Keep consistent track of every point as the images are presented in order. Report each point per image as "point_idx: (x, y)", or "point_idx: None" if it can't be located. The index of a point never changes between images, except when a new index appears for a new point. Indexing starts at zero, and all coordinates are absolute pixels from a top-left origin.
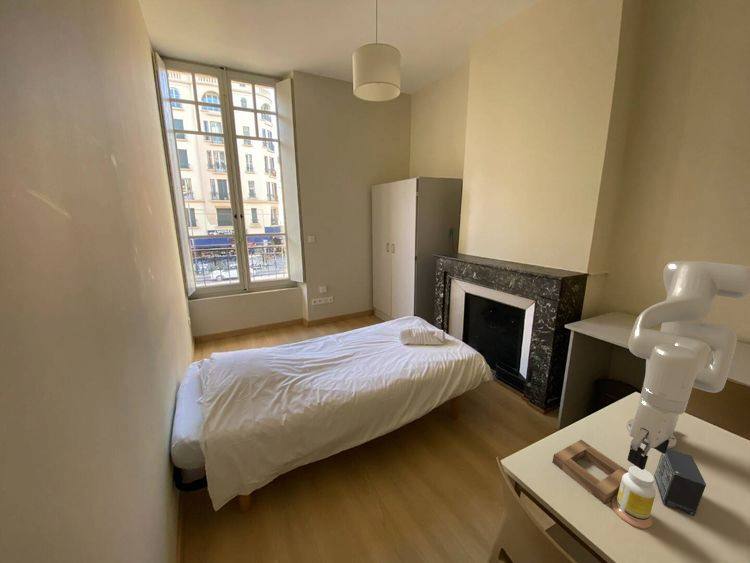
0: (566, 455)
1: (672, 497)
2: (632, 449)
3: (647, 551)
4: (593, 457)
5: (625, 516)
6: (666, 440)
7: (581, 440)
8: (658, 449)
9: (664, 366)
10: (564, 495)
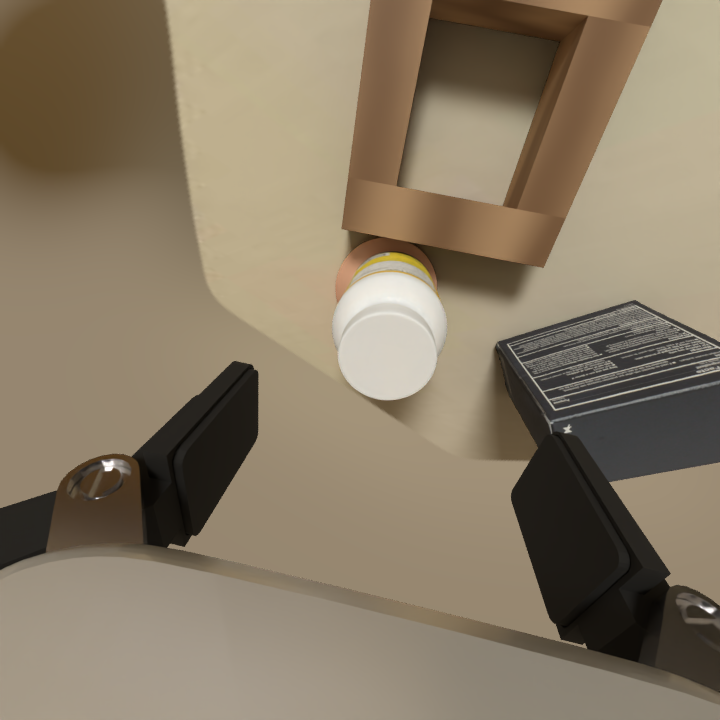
0: None
1: (510, 373)
2: (50, 496)
3: (296, 343)
4: (556, 88)
5: (346, 286)
6: (567, 630)
7: None
8: (526, 484)
9: None
10: (255, 104)
